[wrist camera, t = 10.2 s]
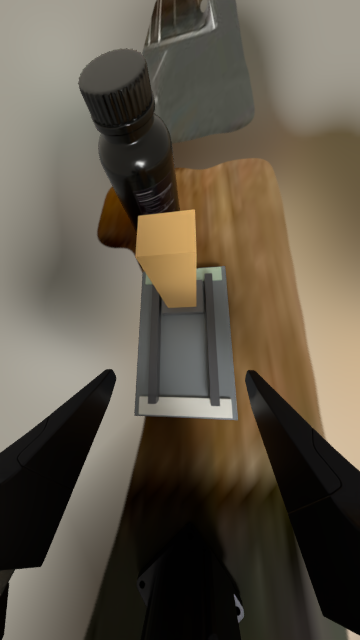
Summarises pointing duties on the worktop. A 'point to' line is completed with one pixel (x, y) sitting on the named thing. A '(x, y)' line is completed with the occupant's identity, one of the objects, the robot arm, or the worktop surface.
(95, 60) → the supplement bottle
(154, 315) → the grey rail base
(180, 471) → the worktop surface
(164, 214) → the handle
